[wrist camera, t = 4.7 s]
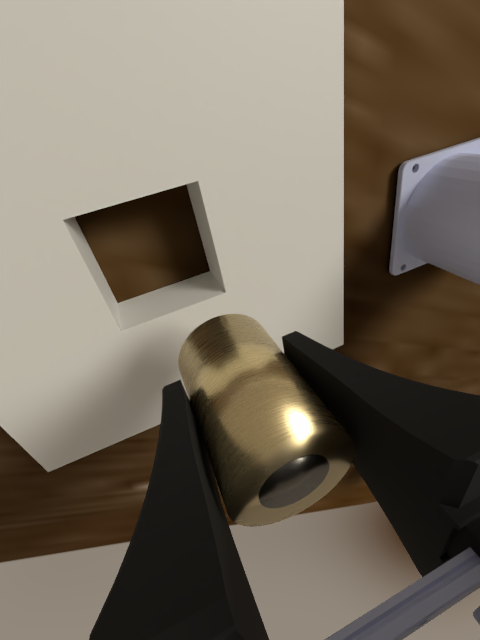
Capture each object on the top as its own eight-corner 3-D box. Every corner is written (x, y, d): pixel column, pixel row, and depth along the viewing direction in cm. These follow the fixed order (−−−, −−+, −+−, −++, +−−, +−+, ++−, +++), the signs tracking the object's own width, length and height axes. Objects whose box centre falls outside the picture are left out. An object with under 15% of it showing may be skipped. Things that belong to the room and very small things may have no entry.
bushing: (270, 305, 13) (370, 414, 8) (264, 378, 15) (341, 497, 11) (173, 323, 12) (227, 463, 7) (182, 400, 14) (227, 545, 9)
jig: (298, -63, 13) (343, -103, 11) (319, 322, 25) (343, 344, 22) (-308, 26, 9) (-446, -6, 7) (53, 432, 21) (48, 472, 19)
